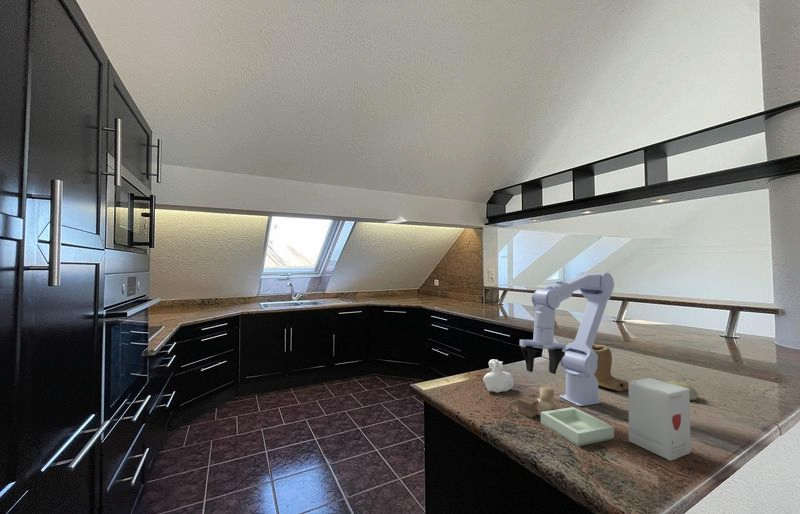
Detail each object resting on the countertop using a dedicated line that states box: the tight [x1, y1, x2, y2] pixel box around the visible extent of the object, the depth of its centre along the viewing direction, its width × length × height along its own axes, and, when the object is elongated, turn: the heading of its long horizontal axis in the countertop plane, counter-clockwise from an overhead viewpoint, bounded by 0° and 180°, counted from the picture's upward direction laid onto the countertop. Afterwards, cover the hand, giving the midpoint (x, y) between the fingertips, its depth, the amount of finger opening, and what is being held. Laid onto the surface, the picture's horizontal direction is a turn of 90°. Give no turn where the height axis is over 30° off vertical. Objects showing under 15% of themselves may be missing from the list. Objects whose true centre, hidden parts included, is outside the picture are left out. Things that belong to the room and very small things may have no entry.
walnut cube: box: [517, 395, 539, 419], centre depth 91 cm, size 4×4×4 cm
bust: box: [483, 358, 514, 393], centre depth 111 cm, size 12×8×11 cm
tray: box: [540, 406, 615, 447], centre depth 82 cm, size 12×12×3 cm
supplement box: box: [627, 377, 692, 461], centre depth 75 cm, size 9×9×15 cm
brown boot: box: [592, 344, 629, 392], centre depth 116 cm, size 15×12×15 cm
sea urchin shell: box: [665, 380, 699, 401], centre depth 107 cm, size 9×8×8 cm
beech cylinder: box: [539, 386, 555, 412], centre depth 95 cm, size 4×4×6 cm
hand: (540, 372), depth 95 cm, fingers open, 7 cm apart
